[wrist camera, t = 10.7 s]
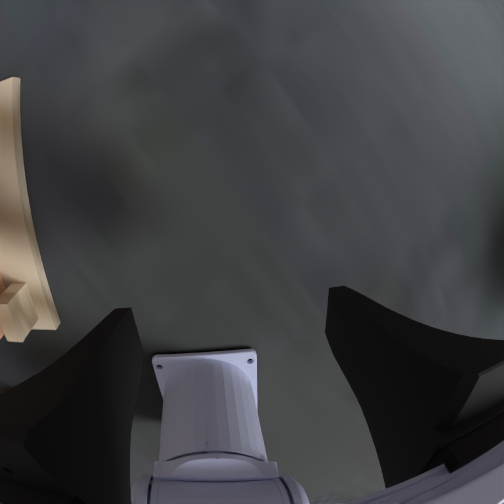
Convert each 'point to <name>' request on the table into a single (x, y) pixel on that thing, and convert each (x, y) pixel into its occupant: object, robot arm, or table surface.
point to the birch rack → (19, 233)
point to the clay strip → (0, 289)
